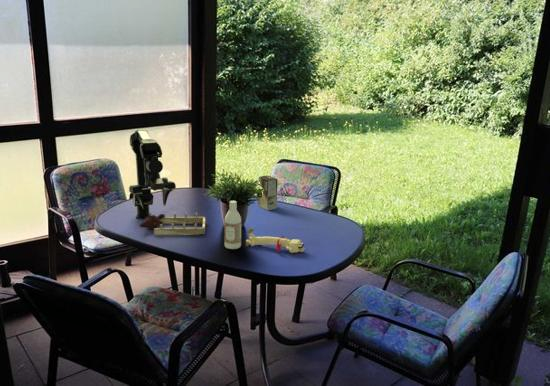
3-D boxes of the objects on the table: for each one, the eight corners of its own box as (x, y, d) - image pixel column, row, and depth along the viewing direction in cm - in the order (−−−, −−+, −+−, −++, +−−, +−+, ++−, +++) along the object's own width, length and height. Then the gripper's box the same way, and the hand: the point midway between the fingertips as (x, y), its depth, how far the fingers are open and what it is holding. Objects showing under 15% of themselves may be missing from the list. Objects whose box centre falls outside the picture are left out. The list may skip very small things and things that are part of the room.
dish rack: (158, 223, 230) (157, 213, 229) (205, 222, 233) (205, 212, 231) (154, 235, 216) (154, 224, 214) (204, 234, 219) (204, 224, 217)
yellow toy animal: (244, 251, 206) (301, 256, 198) (242, 231, 204) (300, 236, 196) (252, 242, 215) (307, 246, 207) (251, 224, 213) (306, 227, 205)
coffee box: (277, 208, 255) (278, 179, 251) (267, 210, 252) (268, 180, 247) (267, 203, 262) (267, 175, 258) (257, 205, 259) (257, 176, 254)
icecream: (146, 222, 213) (170, 216, 225) (134, 215, 216) (159, 209, 229) (143, 236, 215) (167, 229, 228) (131, 229, 218) (156, 222, 231)
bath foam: (221, 248, 205) (221, 203, 199) (228, 242, 211) (228, 198, 205) (237, 250, 203) (237, 205, 197) (243, 244, 209) (243, 200, 203)
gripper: (135, 175, 195) (138, 213, 198) (179, 170, 205) (181, 207, 208) (127, 172, 204) (130, 208, 207) (169, 168, 214) (172, 203, 217)
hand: (154, 207), depth 209 cm, fingers open, 9 cm apart
